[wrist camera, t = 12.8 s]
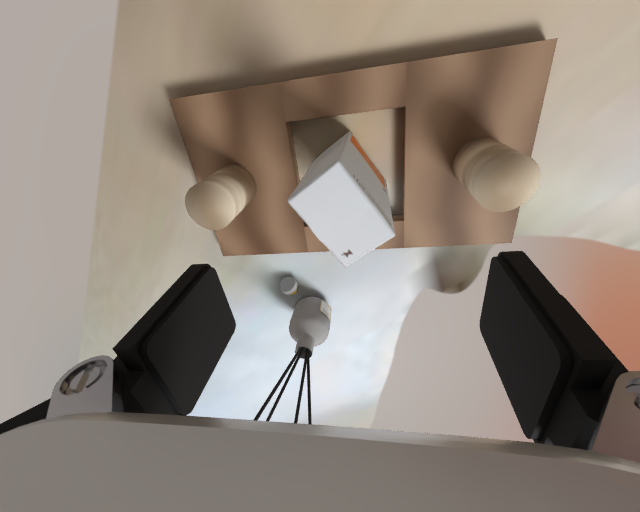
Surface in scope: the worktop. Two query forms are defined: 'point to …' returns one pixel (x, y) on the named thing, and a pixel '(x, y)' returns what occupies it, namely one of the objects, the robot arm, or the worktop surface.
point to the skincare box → (345, 201)
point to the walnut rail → (418, 148)
